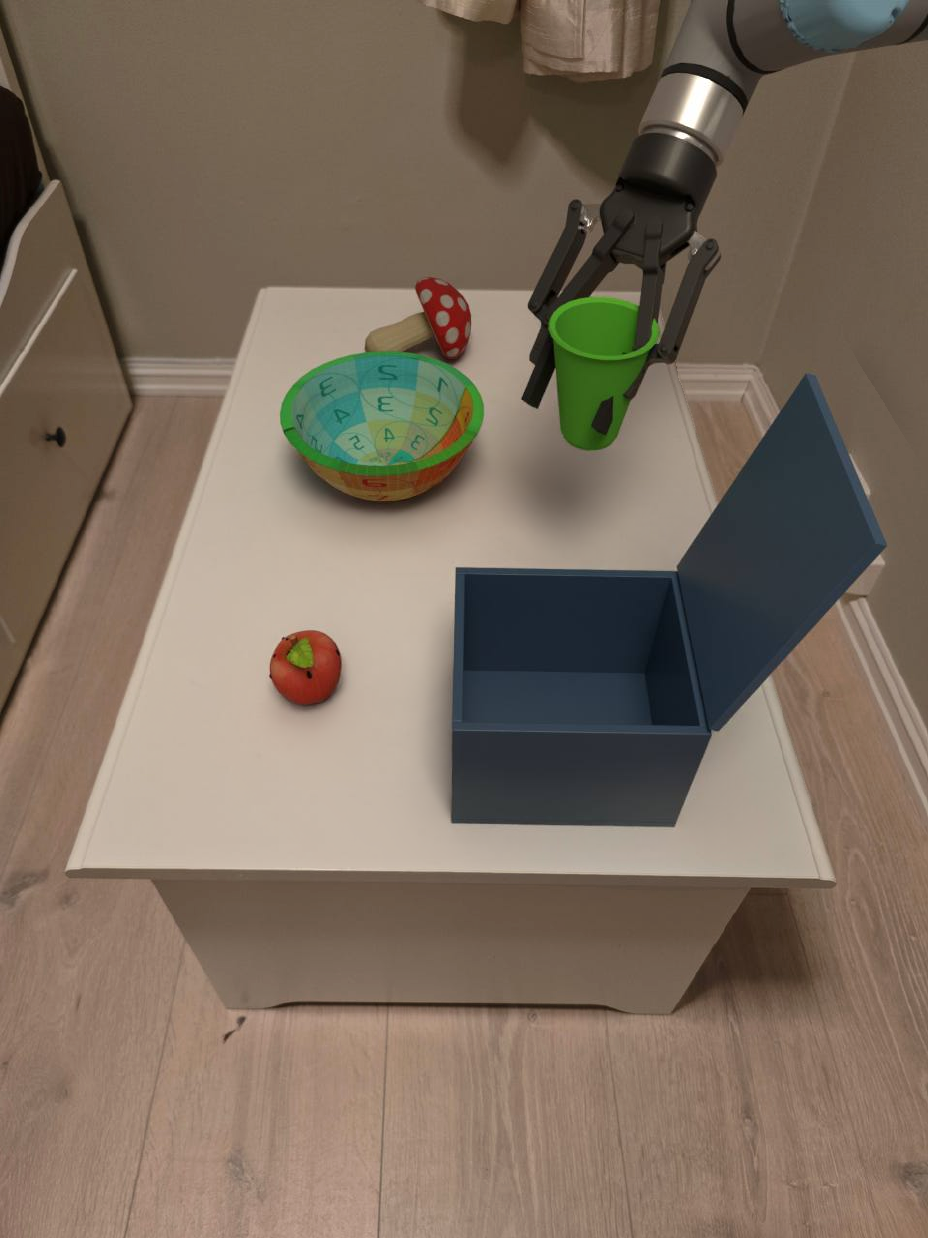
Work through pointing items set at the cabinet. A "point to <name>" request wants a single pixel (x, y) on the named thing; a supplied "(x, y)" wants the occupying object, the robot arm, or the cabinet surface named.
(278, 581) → the cabinet surface
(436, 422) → the bowl
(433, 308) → the decorative mushroom
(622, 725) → the box
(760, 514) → the lid
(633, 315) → the cup
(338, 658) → the apple
